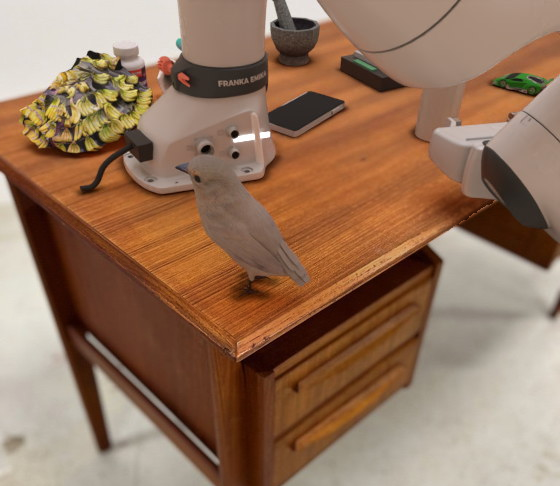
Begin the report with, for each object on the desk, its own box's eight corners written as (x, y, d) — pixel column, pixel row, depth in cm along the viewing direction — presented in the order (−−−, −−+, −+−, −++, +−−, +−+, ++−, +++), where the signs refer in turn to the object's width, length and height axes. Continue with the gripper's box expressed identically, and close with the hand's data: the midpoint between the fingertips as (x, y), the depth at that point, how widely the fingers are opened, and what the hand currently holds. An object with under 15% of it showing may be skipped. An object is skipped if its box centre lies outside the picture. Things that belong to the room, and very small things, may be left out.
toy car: (489, 85, 108) (492, 72, 107) (499, 78, 111) (502, 66, 109) (542, 97, 104) (546, 84, 102) (550, 90, 106) (554, 77, 105)
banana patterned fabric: (59, 183, 84) (36, 153, 78) (15, 124, 91) (-9, 92, 85) (170, 112, 87) (156, 78, 82) (120, 60, 94) (104, 25, 89)
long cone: (199, 64, 116) (200, 92, 100) (169, 75, 116) (166, 104, 101) (188, 35, 112) (188, 59, 97) (158, 46, 112) (153, 71, 97)
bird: (203, 260, 66) (182, 139, 56) (315, 280, 63) (316, 156, 52) (185, 287, 63) (160, 164, 52) (303, 310, 59) (301, 183, 49)
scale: (380, 91, 105) (383, 72, 103) (339, 69, 113) (341, 51, 111) (441, 77, 111) (445, 59, 108) (398, 57, 119) (401, 40, 117)
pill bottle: (137, 113, 96) (128, 52, 89) (111, 107, 97) (100, 46, 91) (156, 101, 99) (148, 42, 93) (131, 96, 101) (121, 37, 94)
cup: (432, 146, 89) (446, 80, 82) (406, 130, 93) (417, 67, 86) (461, 137, 91) (477, 73, 84) (435, 123, 95) (448, 60, 88)
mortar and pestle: (327, 61, 116) (331, -5, 108) (294, 72, 112) (297, 4, 103) (288, 48, 122) (289, -16, 114) (256, 57, 117) (255, -8, 109)
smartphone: (256, 118, 93) (308, 90, 102) (256, 125, 94) (308, 96, 102) (296, 131, 89) (347, 101, 98) (296, 139, 90) (346, 108, 99)
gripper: (622, 134, 68) (556, 91, 78) (465, 149, 64) (417, 102, 74) (601, 182, 72) (541, 135, 82) (453, 198, 69) (409, 147, 79)
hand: (481, 119), depth 78 cm, fingers open, 8 cm apart
